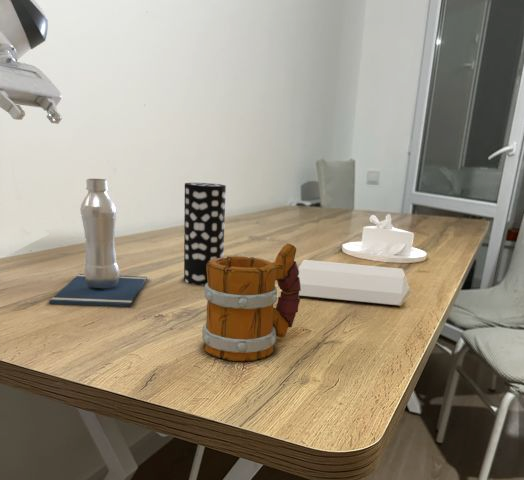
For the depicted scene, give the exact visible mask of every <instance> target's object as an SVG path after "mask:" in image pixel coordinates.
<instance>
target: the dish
mask: <svg viewBox="0 0 524 480" xmlns="http://www.w3.org/2000/svg"><path fill="white" fill-rule="evenodd" d="M392 219H393V218H392V215H391V213H387V214H386V215H385V219H384V220H381V221H380V220H379V219H378V217H377V216H376V215H375V214H371V215H370V217H369V219H368V220H369V222H370V223H372V224H374V225H368V226H363V227H362V235H361V241H352V242H345V243H343V244H342V248H341V252H343V253H344V254H346V255H348V256H351V257H355V258H357V259H363V260H369V261H375V262H383V263H397V264H398V263H399V264H407V263H408V264H409V263H410V264H411V263H419V262H424V261H425V260H426V259H428V258H427V257H428V254H427V252H426V251H425V250H422V249H419V248H417V247H413V242H414V237H415V233H414V232H412V231H408V230H404V229H400V228H397V227H394V225H393V224H392Z"/></svg>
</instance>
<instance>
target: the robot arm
mask: <svg viewBox="0 0 524 480" xmlns="http://www.w3.org/2000/svg"><path fill="white" fill-rule="evenodd" d="M48 22H49V21H48V19H47V17H46V15H45V13H44V10H43V9H42V8H41V6H40V5H39V4H38V3H37V1H36V0H0V108H1V109H3V111H4V112H6V113H8V114H9V116H10V117H11V118H12V119H13V120H15V121H16V120H19V121H22V120H23V119H24V117H25V116H26V111H25V110H24V109H23V108H22V106H25V107H26V106H27V107H31V108H32V107H33V108H40V109H42V110H43V111H45V112H46V113H47V115H46V119H48V120H49V122H50V123H51V124H55V125H58V124H59V123H60V122H61V121H62V119H63V117H62V115H61V114H60V113H59V111H58V108H57V106H58V104H60V102H61V100H62V97H63V95H62V92H61V91H60V89H59V88H58V87H57V86H56V84H55V83H53V81H52V80H51V79H50V78H49V77H48V76H47V75H46V74H45V73H44V72H43V71H42V70H41V69H40V68H38V67H37V66H35V65H33V64H29V63H25V62H19V61H18V60H20V59H21V58H22V57H23V56H24V55H25V54H27V53H28V52H30V50H33V49H35V48H36V47H38V46H40V45H41V44H43V43H44V42H46V40H47V35H48V28H49V27H48V26H49V25H48Z"/></svg>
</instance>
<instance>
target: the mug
mask: <svg viewBox="0 0 524 480" xmlns="http://www.w3.org/2000/svg"><path fill="white" fill-rule="evenodd" d="M296 253H297V247H296V246H295V245H293V244H292V243H286V244H285V245H283V246H282V248H281V249H280V250H279V252H278V253H277V255H276V257H275V260H274V262H271V261H269V260H267V259H263V258H260V257H255V256H251V257H248V256H241V255H230V256H229V255H228V256H227V257H224V256H223V258H216V259H212V260H210V261H208V263H207V264H206V269H207V280H208V283H206V284H205V286H204V299H205V300H206V301H207V303H206V322H205V323H204V324H203V326H202V331H201V333H202V334H201V338H202V341H203V350H204V352H206V353H207V354H209V355H210V356H212V357H215V358H217V359H223V360H225V361H231V362H246V361H248V362H254V361H257V360H262V359H264V358H266V357H269V356H271V355H272V354H273V352H274V345H275V344H276V341H277V339H276V337H278V338H285V337H286V335H287V331H288V330H289V328H292V327H293V325H294V321H295V318H296V314H297V313H298V312H299V305H300V302H301V298H300V296H299V291H301V287H300V279H299V277H298V275H299V270H298V267H299V266H298V264H297V261H295V257H296ZM276 282H277V285H278V287H276V286H275V285H276ZM278 288H279V289H280V290H281V291H280V296H278ZM276 302H277V304H276ZM274 304H276V306H275V307H274Z"/></svg>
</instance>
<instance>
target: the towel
mask: <svg viewBox="0 0 524 480" xmlns="http://www.w3.org/2000/svg"><path fill="white" fill-rule="evenodd" d="M84 274H85V273H78V275H77V276H76V277H74V278H73V279H72V280H71V281H70V282H68V284H66V285H65V286H64V287H63V288H62V289H61V290H60V291H59V292H57V293H56V294H54V296H53V297H52V298H51V299H49V301H48V303H49V305H66V306H67V305H69V306H70V305H71V306H72V305H73V306H93V307H95V306H96V307H121V308H126V307H127V308H130V307H131V306H132V305H133V304H134V302H135V300H136V298H137V296H138V295H139V293H140V292H141V290H142V288H143V286H144V284H145V283H146V282H147V280H148V278H147V276H137V275H136V276H135V275H119V281H118V283H117V285H116V286H114V287H110V288H94V287H91V286H89V285H88V284H87V282H86V279H85V275H84Z"/></svg>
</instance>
